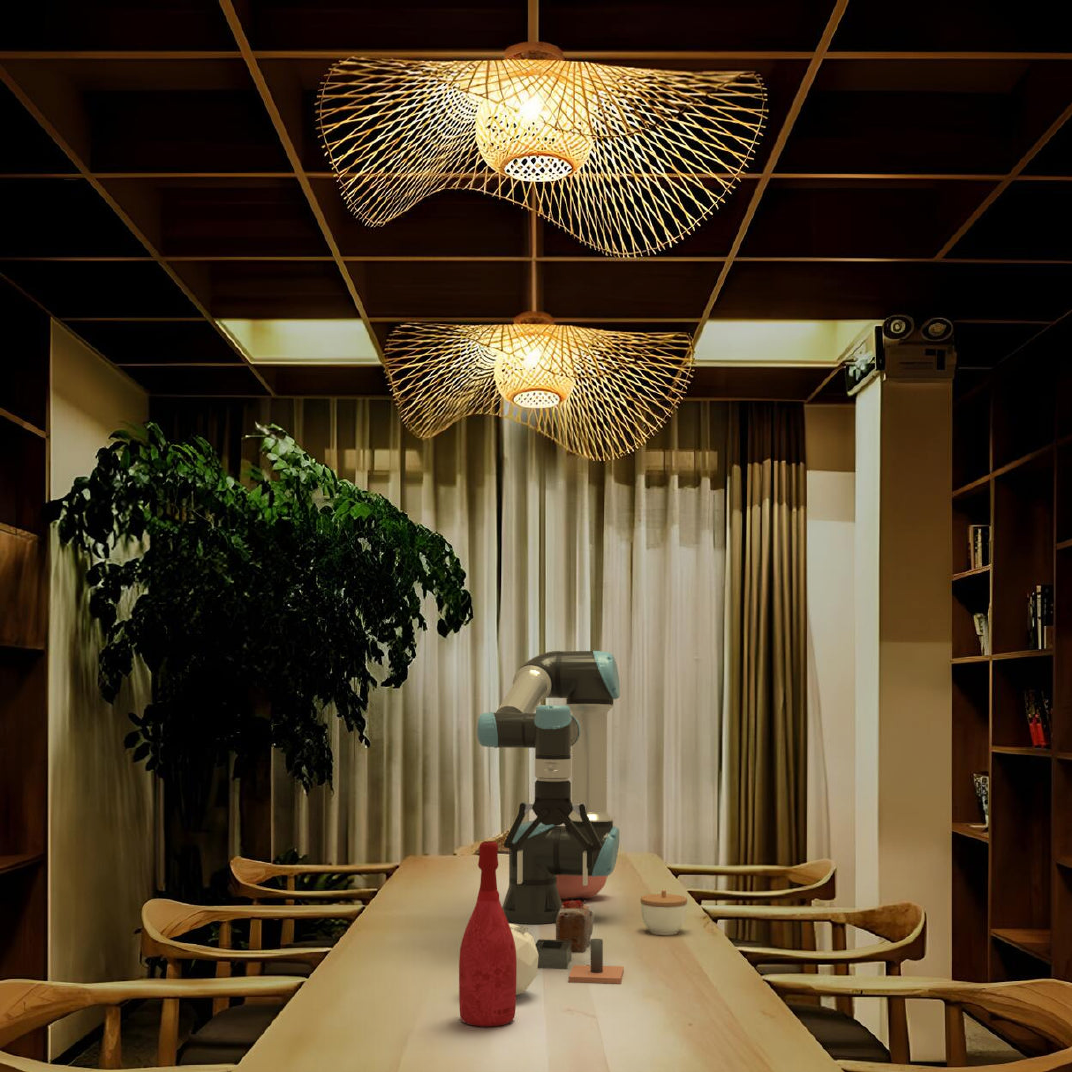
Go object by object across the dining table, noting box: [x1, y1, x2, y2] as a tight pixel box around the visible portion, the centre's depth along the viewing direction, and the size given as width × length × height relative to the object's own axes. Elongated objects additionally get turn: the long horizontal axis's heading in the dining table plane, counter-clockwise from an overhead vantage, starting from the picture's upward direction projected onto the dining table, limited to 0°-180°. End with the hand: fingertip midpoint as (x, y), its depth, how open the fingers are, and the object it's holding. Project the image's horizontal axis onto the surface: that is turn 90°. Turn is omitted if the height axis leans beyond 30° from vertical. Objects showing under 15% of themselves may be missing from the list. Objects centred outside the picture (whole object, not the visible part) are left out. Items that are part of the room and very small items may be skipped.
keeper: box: [568, 938, 625, 985], centre depth 245 cm, size 10×10×7 cm
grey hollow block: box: [535, 938, 573, 969], centre depth 257 cm, size 10×7×4 cm
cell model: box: [557, 875, 609, 901], centre depth 331 cm, size 17×20×11 cm
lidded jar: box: [640, 889, 688, 936], centre depth 288 cm, size 11×11×9 cm
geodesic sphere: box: [509, 923, 538, 996], centre depth 231 cm, size 14×14×14 cm
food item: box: [554, 899, 594, 953], centre depth 274 cm, size 14×8×10 cm, turn 175°
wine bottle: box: [458, 840, 517, 1028], centre depth 215 cm, size 10×10×30 cm
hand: (552, 884), depth 258 cm, fingers open, 13 cm apart
